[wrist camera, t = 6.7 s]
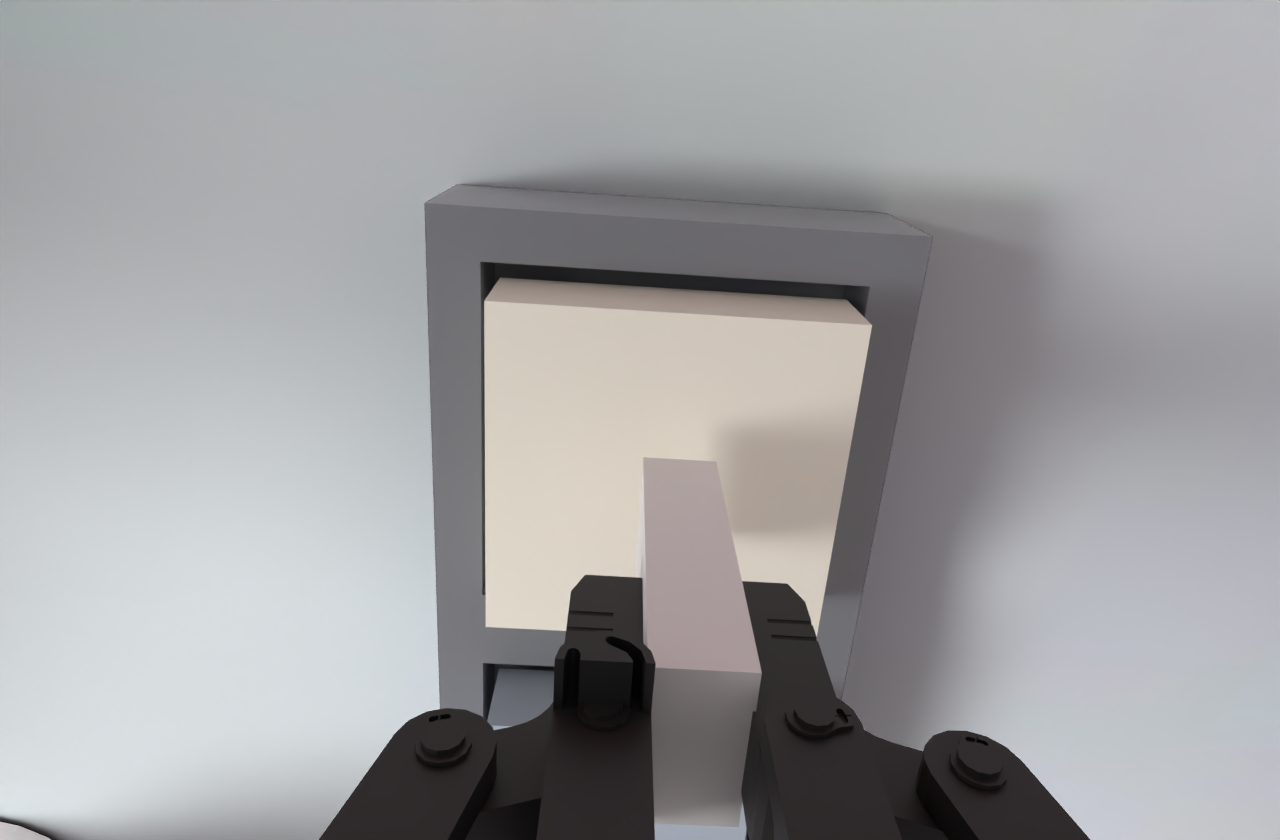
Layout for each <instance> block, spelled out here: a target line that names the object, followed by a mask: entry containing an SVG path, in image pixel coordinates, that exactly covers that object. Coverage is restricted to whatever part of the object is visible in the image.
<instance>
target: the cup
mask: <svg viewBox="0 0 1280 840" xmlns="http://www.w3.org/2000/svg"><path fill="white" fill-rule="evenodd" d="M0 840H51V839H49V838H48V837H45V836H43V835H40V834H38V833H36V832H33V831H31V830H28V829H26V828H23V827H21V826H18V825H13V824H8V823H4V822H0Z"/></svg>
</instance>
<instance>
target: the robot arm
mask: <svg viewBox="0 0 1280 840" xmlns="http://www.w3.org/2000/svg"><path fill="white" fill-rule="evenodd" d="M742 802H743V808H744V815H745V822H746V828H747V829H746V836H745V840H1090V839H1089V838H1088V837H1087V835H1086V834H1085V833H1084V832H1083V831H1082V830H1081V828H1080V827H1079V826H1078V825H1077V824H1076V823H1075V822H1074V820H1073V819H1072V818H1071V817H1070V816H1069V815H1068V814H1067V812H1066V811H1065V810H1064V809H1063V808H1062V807H1061V806H1060V804H1059V803H1058V802H1057V801H1056V800H1055V799H1054V798H1053V796H1052V795H1051V794H1050V793H1049V792H1048V791H1047V790H1046V788H1045V787H1044V786H1043V785H1042V784H1041V783H1040V781H1039V780H1038V779H1037V778H1036V777H1035V776H1034V775H1033V773H1032V772H1031V771H1030V770H1029V769H1028V768H1027V767H1026V765H1025V764H1024V763H1023V762H1022V761H1021V760H1020V759H1019V758H1018V757H1017V756H1015V755H1014V754H1013V753H1012V752H1011V751H1010V750H1009V749H1007V748H1006V747H1005V746H1003V745H1001V744H999V743H997V742H996V741H994V740H992V739H990V738H988V737H986V736H982V735H979V734H975V733H972V732H968V731H945V732H942V733H939V734H936V735H934V736H933V737H932V738H931V739H930V740H929V741H928V742H927V744H926V745H925V747H924V751H919V750H916V749H912V748H909V747H905V746H902V745H898V744H895V743H892V742H889V741H886V740H883V739H881V738H878V737H876V736H874V735H872V734H870V733H868V732H867V731H865V730H864V729H863V726H862V724H861V722H860V720H859V719H858V717H857V715H856V714H855V712H854V711H853V710H852V709H851V708H850V707H849V706H847V705H846V704H845V703H844V702H843V701H841V700H840V699H838V698H836V694H835V691H834V688H833V685H832V682H831V679H830V676H829V673H828V670H827V667H826V664H825V661H824V658H823V655H822V652H821V649H820V646H819V643H818V641H817V637H816V634H815V631H814V628H813V625H811V618H810V615H809V612H808V609H807V606H806V603H805V601H804V600H803V599H802V598H801V597H800V596H799V595H798V594H797V593H796V592H795V591H794V590H793V589H792V588H791V587H790V586H789V585H788V584H786V583H768V582H749V581H742V579H741V574H740V569H739V565H738V560H737V555H736V551H735V546H734V541H733V537H732V532H731V527H730V523H729V518H728V514H727V509H726V504H725V500H724V495H723V490H722V486H721V481H720V476H719V472H718V467H717V462H716V461H700V460H683V459H666V458H648V457H643V468H642V481H641V495H640V508H639V521H638V535H637V548H636V561H635V577H619V576H601V575H584V577H583V578H582V579H581V580H580V581H579V582H578V584H577V585H576V586H575V587H574V588H573V589H572V590H571V595H570V603H569V611H568V619H567V627H566V635H565V642H564V644H563V645H562V646H560V648H559V650H558V652H557V655H556V657H555V664H554V693H553V703H552V704H551V705H550V707H549V708H548V709H547V710H545V711H544V712H543V713H542V714H541V715H539V716H538V717H536V718H534V719H532V720H530V721H528V722H525V723H522V724H519V725H515V726H512V727H507V728H502V729H497V730H493V727H492V726H491V725H490V724H489V723H488V722H487V721H486V720H485V719H484V718H483V717H482V716H480V715H478V714H475V713H473V712H470V711H468V710H465V709H452V708H444V709H439V710H433V711H428V712H425V713H423V714H421V715H419V716H417V717H415V718H413V719H411V720H409V721H408V722H407V723H405V724H404V725H403V726H402V727H401V728H400V729H399V730H398V731H397V732H396V733H395V734H394V736H393V737H392V739H391V740H390V741H389V743H388V744H387V746H386V747H385V748H384V750H383V751H382V752H381V754H380V755H379V757H378V758H377V759H376V761H375V762H374V764H373V765H372V766H371V768H370V769H369V771H368V772H367V773H366V775H365V776H364V778H363V779H362V780H361V782H360V783H359V785H358V786H357V787H356V789H355V790H354V792H353V793H352V794H351V796H350V797H349V799H348V800H347V801H346V803H345V804H344V806H343V807H342V808H341V810H340V811H339V812H338V814H337V815H336V817H335V818H334V819H333V821H332V822H331V824H330V825H329V826H328V828H327V829H326V831H325V832H324V833H323V835H322V836H321V838H320V839H319V840H655V827H654V823H657V824H680V825H702V826H724V827H739V822H740V815H741V808H742Z"/></svg>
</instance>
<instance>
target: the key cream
mask: <svg viewBox="0 0 1280 840" xmlns="http://www.w3.org/2000/svg"><path fill="white" fill-rule="evenodd" d="M871 329H872V325H871V324H870V323H869V322H868V321H867V320H866V319H865V318H864V317H863V316H862V315H861V314H860V313H859V312H858V311H857V310H856V309H855V308H854V307H853V306H852V305H851V304H850V303H849V302H848V301H847V300H846V299H830V298H814V297H799V296H783V295H767V294H751V293H736V292H720V291H704V290H689V289H673V288H657V287H641V286H626V285H610V284H594V283H578V282H563V281H547V280H531V279H516V278H499V280H498V281H497V283H496V284H495V286H494V287H493V289H492V290H491V292H490V293H489V295H488V296H487V298H486V299H485V301H484V361H485V591H486V627H496V628H517V629H537V630H557V631H566V627H567V619H568V611H569V603H570V595H571V590H572V589H573V588H574V587H575V586H576V585H577V584H578V582H579V581H580V580H581V579H582V578H583V577H584V575H601V576H619V577H635V561H636V548H637V535H638V521H639V508H640V495H641V481H642V468H643V457H648V458H666V459H683V460H700V461H716V462H717V467H718V472H719V476H720V481H721V486H722V490H723V495H724V500H725V504H726V509H727V514H728V518H729V523H730V527H731V532H732V537H733V541H734V546H735V551H736V555H737V560H738V565H739V569H740V574H741V579H742V581H749V582H768V583H786V584H788V585H789V586H790V587H791V588H792V589H793V590H794V591H795V592H796V593H797V594H798V595H799V596H800V597H801V598H802V599H803V600H804V601H805V603H806V606H807V609H808V612H809V615H810V618H811V625H813V628H814V631H815V634H816V637H817V633H818V627H819V622H820V616H821V610H822V605H823V599H824V593H825V588H826V582H827V577H828V571H829V565H830V560H831V554H832V548H833V543H834V537H835V531H836V526H837V520H838V515H839V509H840V503H841V498H842V492H843V486H844V481H845V475H846V470H847V464H848V458H849V453H850V447H851V441H852V436H853V430H854V425H855V419H856V413H857V408H858V402H859V396H860V391H861V385H862V379H863V374H864V368H865V363H866V357H867V351H868V346H869V340H870V334H871Z"/></svg>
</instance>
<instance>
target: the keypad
mask: <svg viewBox="0 0 1280 840" xmlns="http://www.w3.org/2000/svg"><path fill="white" fill-rule="evenodd" d="M425 235H426V268H427V300H428V333H429V366H430V398H431V431H432V463H433V496H434V529H435V561H436V594H437V626H438V659H439V692H440V709H444V708H452V709H465V710H468V711H470V712H473V713H475V714H478V715H480V716H482V717H483V718H484V719H485V720H486V721H487V719H488V715H489V711H490V706H491V702H492V697H493V693H494V689H495V684H496V680H497V675H498V671H499V668H500V669H521V670H542V671H554V664H555V657H556V655H557V652H558V650H559V648H560V646H562V645H563V644H564V642H565V635H566V631H557V630H537V629H517V628H496V627H486V591H485V361H484V301H485V299H486V298H487V296H488V295H489V293H490V292H491V290H492V289H493V287H494V286H495V284H496V283H497V281H498V280H499V278H516V279H531V280H547V281H563V282H578V283H594V284H610V285H626V286H641V287H657V288H673V289H689V290H704V291H720V292H736V293H751V294H767V295H783V296H799V297H814V298H830V299H846V300H847V301H848V302H849V303H850V304H851V305H852V306H853V307H854V308H855V309H856V310H857V311H858V312H859V313H860V314H861V315H862V316H863V317H864V318H865V319H866V320H867V321H868V322H869V323H870V324H871V325H872V329H871V334H870V340H869V346H868V351H867V357H866V363H865V368H864V374H863V379H862V385H861V391H860V396H859V402H858V408H857V413H856V419H855V425H854V430H853V436H852V441H851V447H850V453H849V458H848V464H847V470H846V475H845V481H844V486H843V492H842V498H841V503H840V509H839V515H838V520H837V526H836V531H835V537H834V543H833V548H832V554H831V560H830V565H829V571H828V577H827V582H826V588H825V593H824V599H823V605H822V610H821V616H820V622H819V627H818V633H817V641H818V643H819V646H820V649H821V652H822V655H823V658H824V661H825V664H826V667H827V670H828V673H829V676H830V679H831V682H832V685H833V688H834V691H835V694H836V698H838V699H840V700H841V698H842V693H843V688H844V683H845V678H846V673H847V668H848V663H849V658H850V653H851V648H852V643H853V638H854V633H855V627H856V622H857V617H858V612H859V607H860V602H861V597H862V592H863V587H864V582H865V577H866V572H867V567H868V562H869V557H870V552H871V547H872V542H873V536H874V531H875V526H876V521H877V516H878V511H879V506H880V501H881V496H882V491H883V486H884V481H885V476H886V471H887V466H888V461H889V456H890V451H891V446H892V440H893V435H894V430H895V425H896V420H897V415H898V410H899V405H900V400H901V395H902V390H903V385H904V380H905V375H906V370H907V365H908V360H909V355H910V349H911V344H912V339H913V334H914V329H915V324H916V319H917V314H918V309H919V304H920V299H921V294H922V289H923V284H924V279H925V274H926V269H927V264H928V259H929V253H930V248H931V243H932V238H933V237H932V236H930V235H928V234H926V233H924V232H922V231H920V230H918V229H916V228H914V227H912V226H910V225H908V224H906V223H905V222H903V221H901V220H899V219H897V218H895V217H893V216H891V215H889V214H887V213H874V212H859V211H844V210H829V209H815V208H800V207H785V206H770V205H755V204H740V203H725V202H711V201H696V200H681V199H666V198H651V197H636V196H621V195H606V194H592V193H577V192H562V191H547V190H532V189H517V188H502V187H488V186H473V185H458V184H457V185H455V186H453V187H452V188H450V189H448V190H446V191H445V192H443V193H441V194H439V195H438V196H436V197H434V198H432V199H431V200H429V201H427V202H425Z"/></svg>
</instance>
